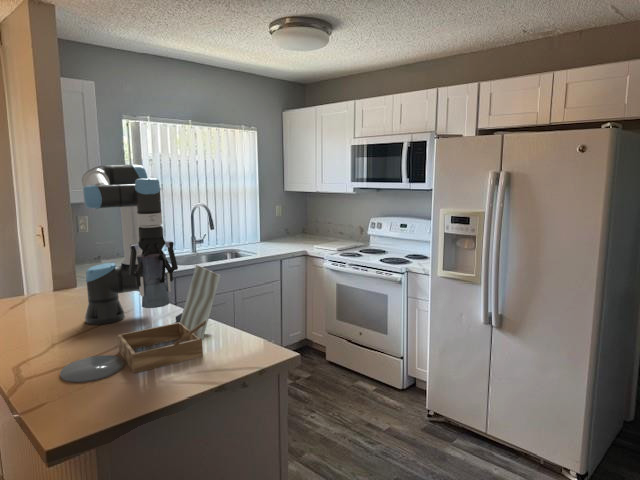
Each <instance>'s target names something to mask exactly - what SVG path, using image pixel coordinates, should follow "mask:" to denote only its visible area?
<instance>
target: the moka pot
mask: <svg viewBox="0 0 640 480" xmlns="http://www.w3.org/2000/svg"><path fill="white" fill-rule="evenodd" d="M163 253H164V254H163V255H160V254H159V253H158V254H148V256H145V257H143V256H142V255H141V254H140V255H137V260H138V264H140V262H141V261H142V262H143V270H142V272H141V276H142V277H143V285H144V296H143V297H142V296H141V298H142V299H141V301H142V302H141V307H142V308H144V309H156V308H163V307H165V306H168V305H169V304H171V303H170V297H169V292H168V291H167V288H166V279H165V272H166V259H167V254H165V252H163Z"/></svg>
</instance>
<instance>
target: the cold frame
mask: <svg viewBox="0 0 640 480" xmlns="http://www.w3.org/2000/svg"><path fill="white" fill-rule="evenodd" d="M221 276H222V275H220V274H218V273H216V272H214V271H211V270H210V269H207V268H205V267H203V266H200V265H198V264H196V265H195V267H194V271H193V275H192V278H191V281H190V285H189V289H188V292H187V296H186V299H185V303H184V306H183V310H182V312H181V313H182V316H181V320H180V322H178V323H175V322H174V323H169V324H164V325H158V326H154V327H150V328H144V329H140V330H135V331H130V332H126V333H125V332H123V333H121V334H117V340H118V343H117V344H118V352H119V354H120V355H121V356H122V357H123V358H122V359H123V360H125V362H126V363H127V364H128V366H129V368H130V369H131V371H132V372H133V374H136V373H137V374H138V373H141V372H144V371H150V370H153V369H157V368H161V367H165V366H168V365H172V364H177V363H180V362H185V361H189V360H192V359H197V358H201V357H203V356H204V353H203V339H204V336H205V333H206V330H207V326H208V322H209V319H210V315H211V311H212V307H213V305H214V304H213V303H214V302H215V301H214V299H215V297H216V293H217V290H218V286H219V284H220V283H219V282H220V280H221ZM176 339H177V340H176ZM171 340H172V341H175V342H174V343H173V344H169V345H164V346H161V347H160V346H159V347H157V348H153V349H147V350H142V351H138V352H136V351H135V350H137V349H140V348H146V347H149V346H155V345H158V344H163V343H167V341H168V342H172V341H171Z"/></svg>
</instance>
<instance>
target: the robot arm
mask: <svg viewBox="0 0 640 480" xmlns="http://www.w3.org/2000/svg"><path fill="white" fill-rule="evenodd" d="M81 183H82V187H83V189H82V193H83V202H84V206H85V208H86V209H94V210H95V209H96V210H97V209H106V208H107V209H108V208H120V215H121V229H122V242H123V254H124V257H123V258H122V259H121V260H120V264H121V265H117V264H116V263H115V262H105V263H101V264H96V265H93V266H91V267H89V268H88V269H87V270H86V271H85V282H86V289H87V290H86V291H87V302H88V303H87V308H86V312H85V316H84V320H85V323H86V324H88V325H92V326H93V325H95V326H97V325H107V324H112V323H116V322H119V321H121V320H123V319H124V318H125V317H126V316H125V315H126V314H125V310H124V308H123V306H122V304H121V302H120V300H119V294H122V293H130V292H139V296H141V298H142V297H143V296H144V285H143V277H142V276H141V272H142V270H143V262H142V261H141V262H140V264H138V260H137V255H140V254H141V255H142V256H143V257H145V256H148V254H158V253H159V254H160V255H163V254H164V253H165V252H164V251H163V248H164V246H165V247H166V248H167V251H168V257H169V259H170V260H169V261H170V262H169V261H168V259H167V258H166V268H165V270H167V271H165V284H166V288H167V292H168V293H170V292H172V289H171V283H172V282H173V281H174V278H173V273H174V271H177V270H178V267H179V266H178V262H177V259H176V255H175V251H174V245H175V243H174V242H173V241H172V240H167V241H166V240H165V238H164V227H163V226H162V225H163V215H162V214H163V213H162V212H163V210H162V199H161V198H162V197H161V190H162V189H161V185H160V180H159V179H158V178H155V177H154V178H151V177H150V178H148V174H147V172H146V169H145V167H144V166H143V165H141V164H111V165H110V164H109V165H108V164H103V165H102V164H101V165H98V166H94V167H92V168H91V169H89V170H87V171H86V172H85V173H84V174H83V176H82V179H81ZM170 264H171V265H170Z"/></svg>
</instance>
